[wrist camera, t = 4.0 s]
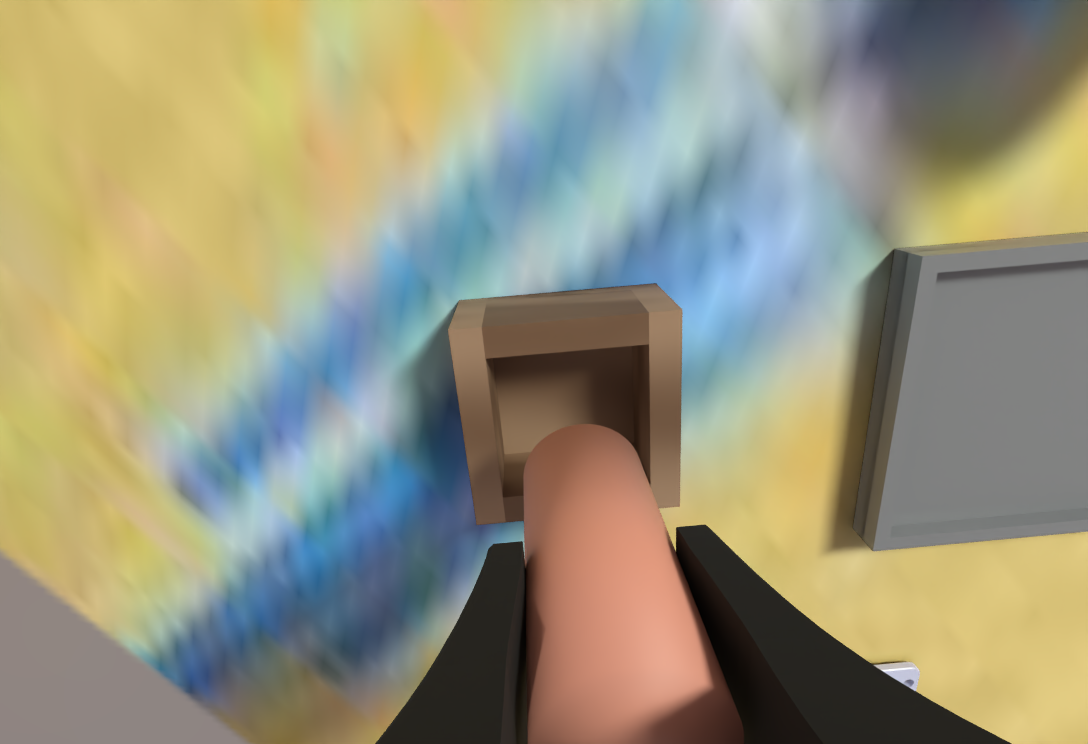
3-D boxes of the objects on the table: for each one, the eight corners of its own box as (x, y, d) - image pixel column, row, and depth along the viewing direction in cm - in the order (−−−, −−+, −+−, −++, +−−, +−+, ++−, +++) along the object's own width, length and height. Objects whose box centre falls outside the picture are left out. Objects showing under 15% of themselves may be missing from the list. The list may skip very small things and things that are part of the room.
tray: (1126, 503, 25) (1162, 524, 23) (852, 528, 25) (873, 551, 23) (1228, 219, 20) (1280, 225, 19) (894, 248, 20) (923, 256, 19)
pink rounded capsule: (642, 520, 16) (738, 810, 9) (528, 530, 16) (537, 830, 9) (641, 418, 15) (749, 660, 8) (517, 429, 15) (517, 682, 8)
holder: (656, 455, 23) (679, 506, 20) (482, 470, 23) (476, 525, 19) (655, 283, 20) (682, 309, 17) (459, 300, 20) (447, 330, 17)
